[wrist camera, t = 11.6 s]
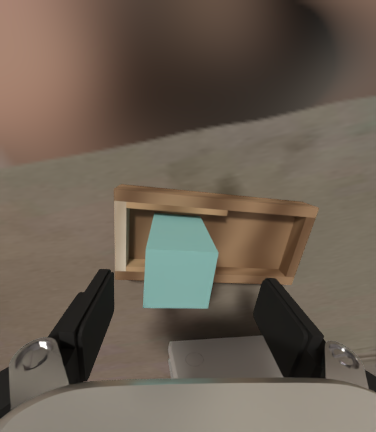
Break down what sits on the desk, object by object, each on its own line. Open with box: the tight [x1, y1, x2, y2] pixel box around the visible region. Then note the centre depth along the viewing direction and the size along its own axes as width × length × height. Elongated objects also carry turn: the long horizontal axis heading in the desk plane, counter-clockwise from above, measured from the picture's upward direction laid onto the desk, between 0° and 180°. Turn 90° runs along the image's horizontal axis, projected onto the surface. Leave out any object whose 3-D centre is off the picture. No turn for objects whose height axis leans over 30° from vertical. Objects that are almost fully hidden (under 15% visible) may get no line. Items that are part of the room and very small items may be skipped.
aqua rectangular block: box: [143, 213, 218, 308], centre depth 15 cm, size 4×4×7 cm
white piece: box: [168, 335, 283, 379], centre depth 22 cm, size 17×5×10 cm, turn 87°
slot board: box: [114, 184, 319, 285], centre depth 19 cm, size 19×9×2 cm, turn 83°
